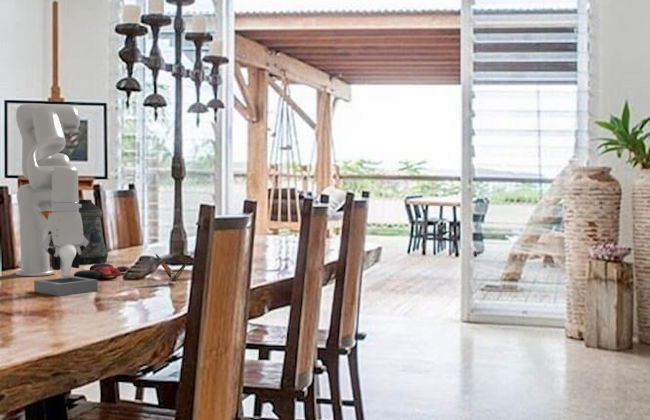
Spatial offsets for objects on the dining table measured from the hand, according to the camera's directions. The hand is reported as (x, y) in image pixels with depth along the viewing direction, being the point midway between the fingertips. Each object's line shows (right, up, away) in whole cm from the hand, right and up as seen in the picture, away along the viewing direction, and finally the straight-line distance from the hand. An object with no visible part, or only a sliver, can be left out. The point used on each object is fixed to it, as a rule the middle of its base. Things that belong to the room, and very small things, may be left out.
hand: (65, 268), depth 226 cm
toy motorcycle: (+2, -6, +33) cm, 34 cm away
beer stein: (-19, -4, +78) cm, 80 cm away
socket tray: (0, -7, 0) cm, 7 cm away
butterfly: (+29, -7, +15) cm, 33 cm away
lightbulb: (0, -3, 0) cm, 3 cm away
